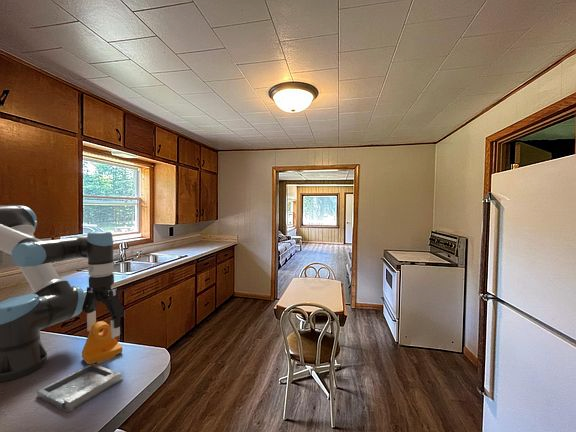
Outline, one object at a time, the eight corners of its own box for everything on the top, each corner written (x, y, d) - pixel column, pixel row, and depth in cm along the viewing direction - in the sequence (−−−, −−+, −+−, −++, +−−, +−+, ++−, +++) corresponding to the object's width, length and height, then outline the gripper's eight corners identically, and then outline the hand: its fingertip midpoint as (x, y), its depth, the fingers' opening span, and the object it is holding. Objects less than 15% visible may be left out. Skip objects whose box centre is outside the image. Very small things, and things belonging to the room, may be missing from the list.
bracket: (88, 367, 92) (87, 332, 92) (82, 359, 97) (81, 326, 96) (123, 354, 100) (122, 322, 100) (115, 347, 105) (115, 316, 105)
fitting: (37, 396, 78) (37, 388, 78) (93, 368, 91) (92, 361, 91) (67, 413, 72) (67, 403, 71) (122, 380, 85) (122, 372, 85)
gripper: (69, 274, 99) (71, 331, 100) (113, 280, 89) (115, 344, 90) (91, 269, 106) (93, 323, 107) (134, 275, 96) (136, 334, 97)
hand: (103, 333), depth 98 cm, fingers open, 13 cm apart
